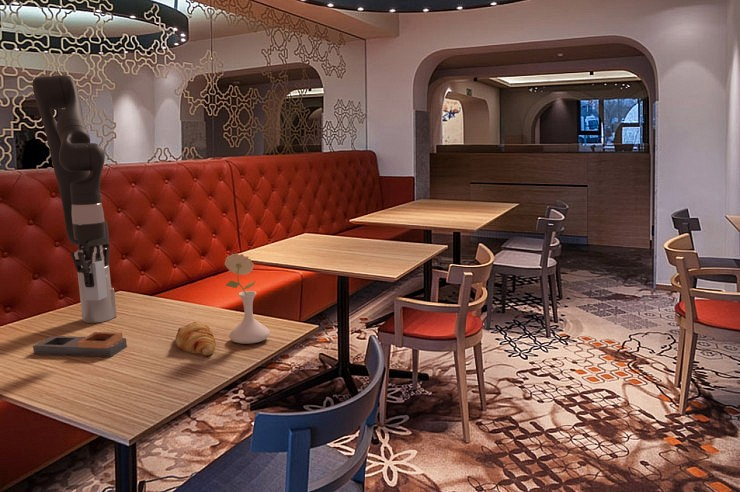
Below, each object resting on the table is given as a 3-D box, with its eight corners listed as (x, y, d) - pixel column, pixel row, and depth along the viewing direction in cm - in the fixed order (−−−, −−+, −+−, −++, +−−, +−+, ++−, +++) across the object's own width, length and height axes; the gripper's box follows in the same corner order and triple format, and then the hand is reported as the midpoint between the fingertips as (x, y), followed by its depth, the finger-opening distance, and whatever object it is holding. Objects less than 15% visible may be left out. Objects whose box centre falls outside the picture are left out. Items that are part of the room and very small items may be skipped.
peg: (107, 296, 159) (103, 260, 157) (98, 300, 155) (95, 263, 153) (93, 296, 159) (89, 260, 158) (84, 300, 155) (80, 263, 154)
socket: (126, 346, 163) (125, 332, 162) (110, 357, 155) (109, 342, 155) (53, 344, 166) (51, 330, 165) (33, 354, 158) (32, 340, 157)
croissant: (222, 367, 157) (233, 339, 157) (188, 359, 150) (201, 329, 151) (190, 345, 173) (201, 319, 174) (159, 336, 166) (170, 310, 167)
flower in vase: (278, 336, 170) (274, 251, 165) (254, 349, 159) (249, 259, 155) (241, 331, 175) (236, 248, 171) (216, 343, 165) (210, 255, 160)
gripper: (90, 217, 161) (97, 278, 164) (57, 224, 147) (64, 291, 150) (116, 217, 160) (122, 278, 163) (85, 224, 146) (92, 292, 149)
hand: (94, 284), depth 156 cm, fingers closed on peg, 4 cm apart
